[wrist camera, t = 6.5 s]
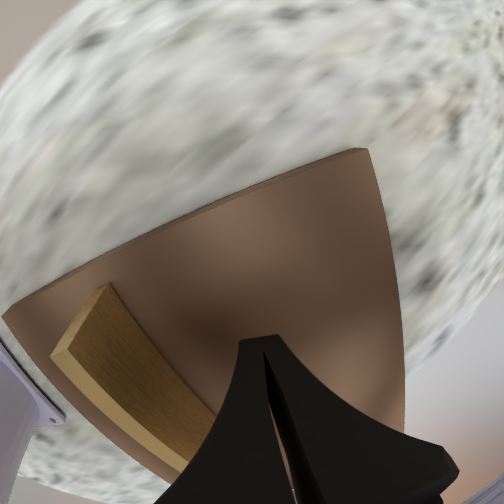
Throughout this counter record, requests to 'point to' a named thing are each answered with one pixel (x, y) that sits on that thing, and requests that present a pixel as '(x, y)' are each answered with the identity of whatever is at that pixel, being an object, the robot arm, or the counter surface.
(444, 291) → the counter surface
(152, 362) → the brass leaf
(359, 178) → the hinge base
